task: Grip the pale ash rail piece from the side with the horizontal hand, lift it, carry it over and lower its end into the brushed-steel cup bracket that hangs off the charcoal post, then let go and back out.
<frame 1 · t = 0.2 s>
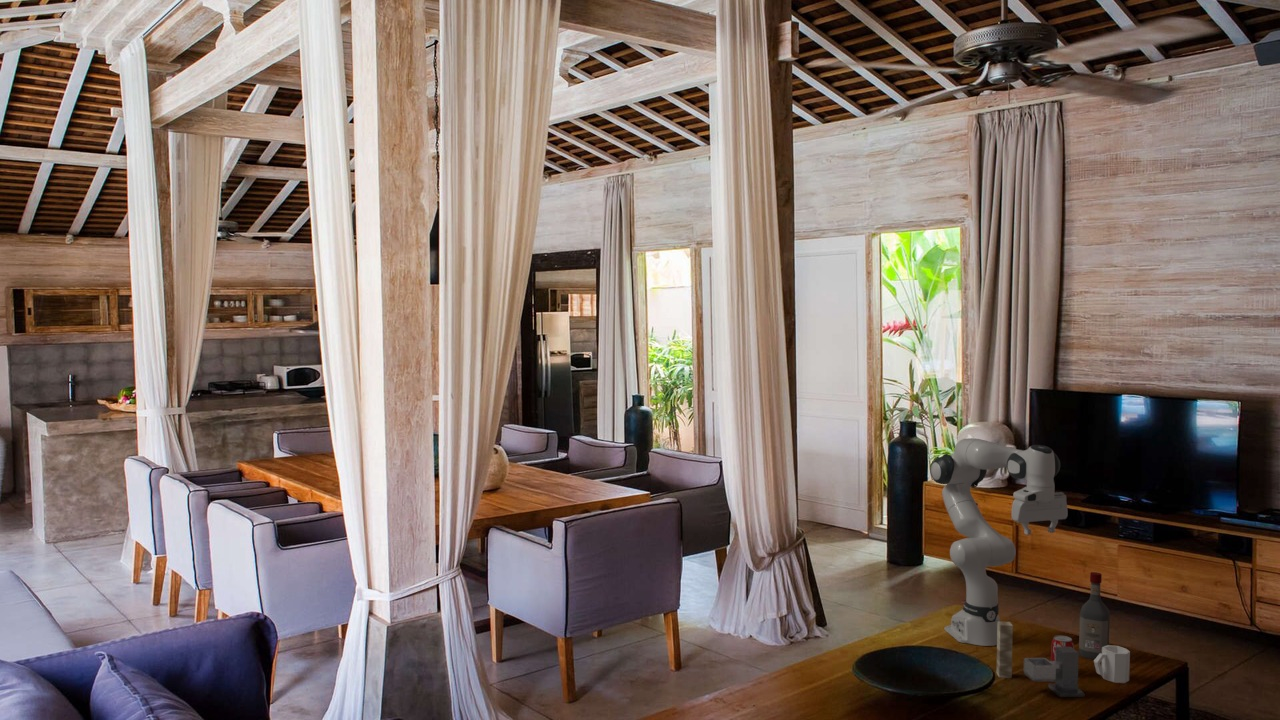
hand: (1039, 533, 323), 48 cm above the table, tool pointing down, fingers open, 8 cm apart
mug: (1110, 679, 319), on the table
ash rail: (1003, 675, 321), on the table
soda can: (1061, 673, 324), on the table
cup bracket: (1038, 692, 307), on the table
liquor: (1093, 656, 340), on the table
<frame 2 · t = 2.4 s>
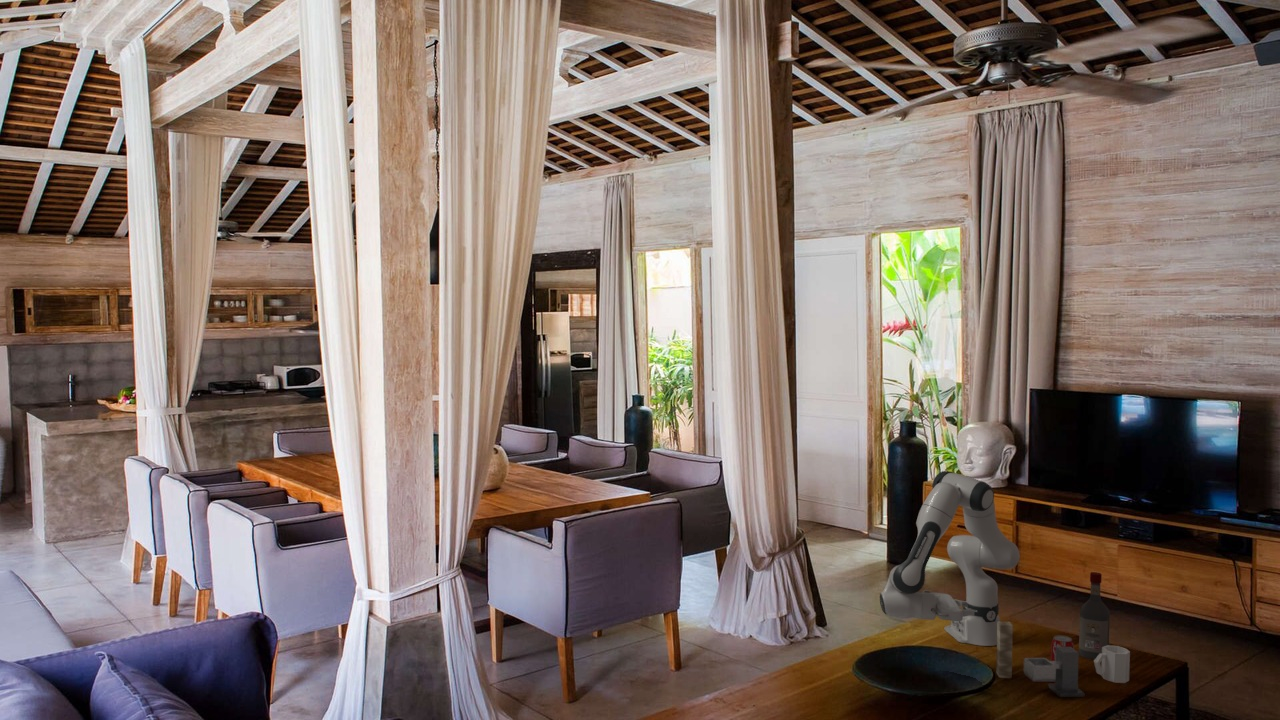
hand: (970, 608, 321), 23 cm above the table, tool horizontal, fingers open, 8 cm apart
nothing on the table moved.
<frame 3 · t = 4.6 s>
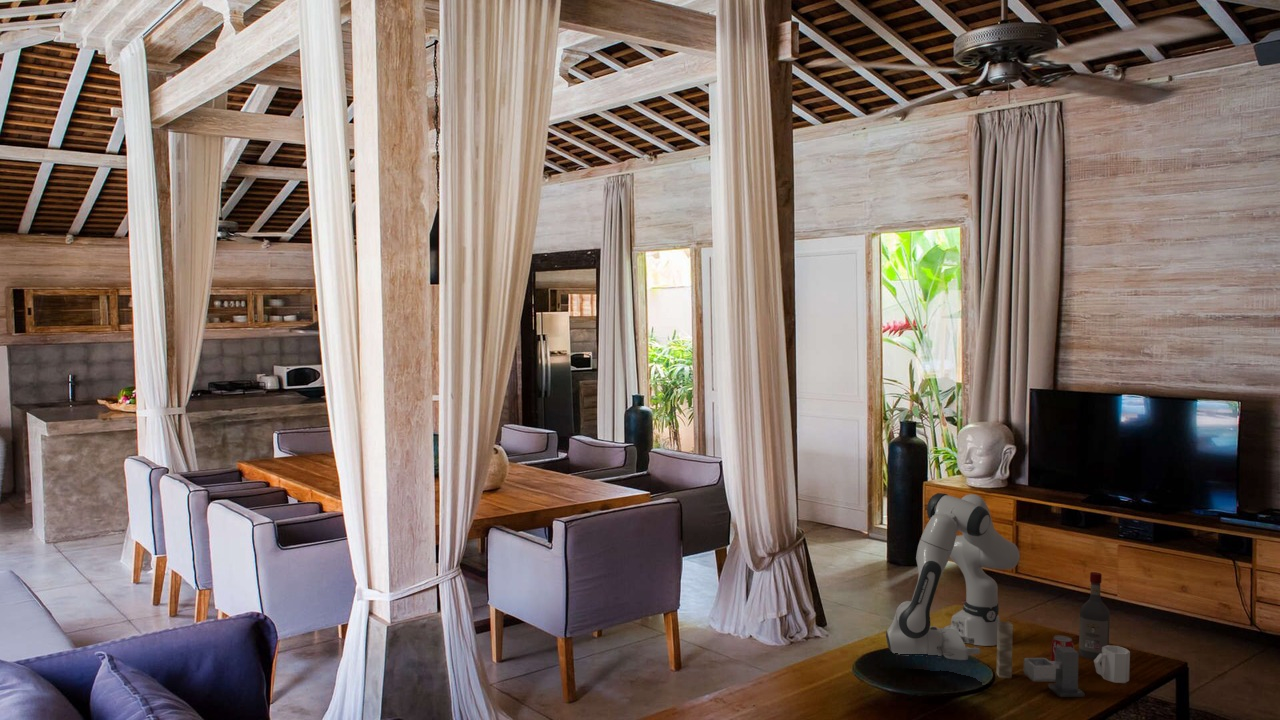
hand: (976, 645, 322), 10 cm above the table, tool horizontal, fingers open, 8 cm apart
nothing on the table moved.
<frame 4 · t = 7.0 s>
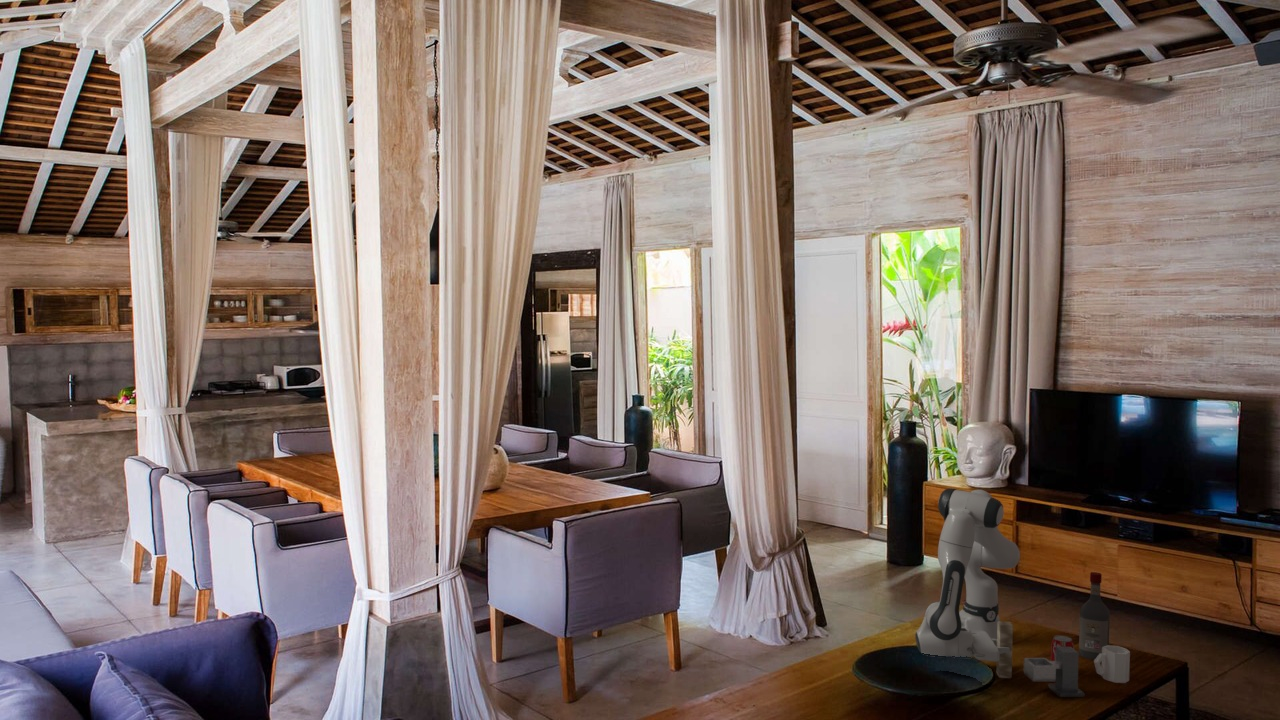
hand: (1007, 646, 320), 10 cm above the table, tool horizontal, fingers closed on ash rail, 4 cm apart
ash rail: (1003, 675, 321), on the table, touching gripper
everything else where it was.
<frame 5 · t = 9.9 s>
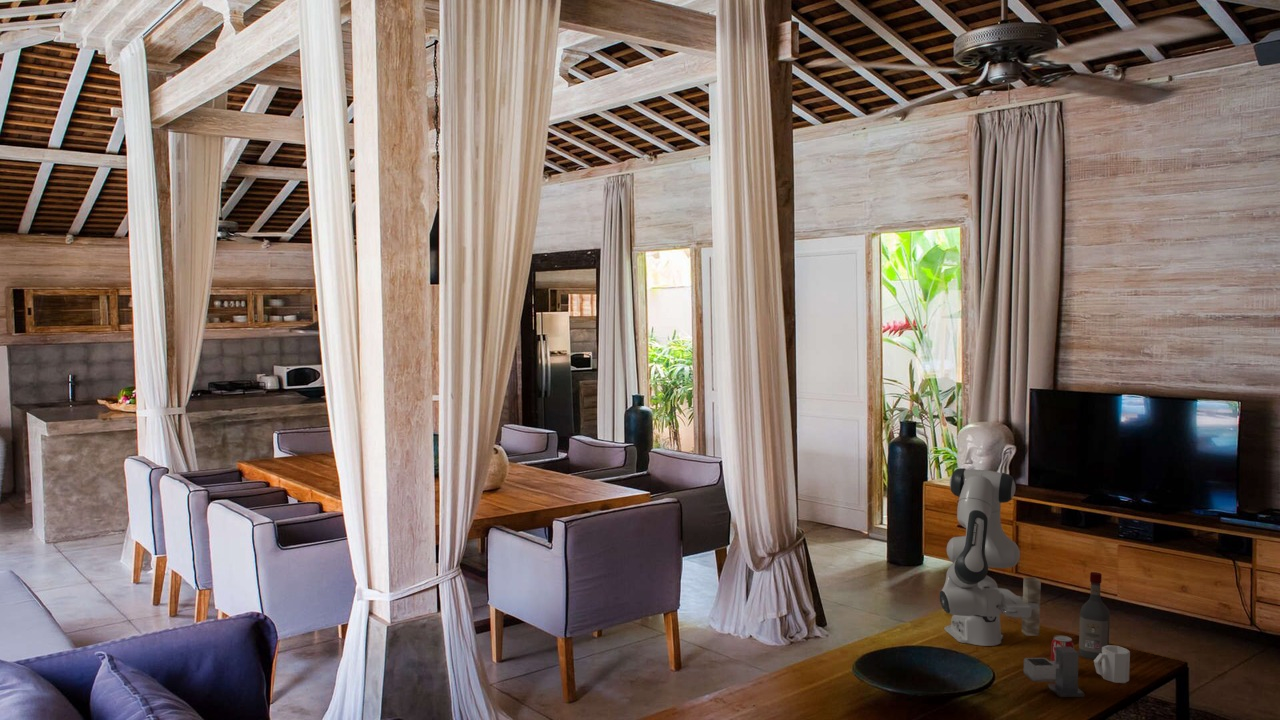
hand: (1034, 603, 308), 29 cm above the table, tool horizontal, fingers closed on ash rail, 4 cm apart
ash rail: (1030, 633, 308), point 19 cm above the table, touching gripper
everything else where it was.
when the fingers open (17 cm above the table, at t = 13.1 s): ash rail drops 1 cm, resting on cup bracket.
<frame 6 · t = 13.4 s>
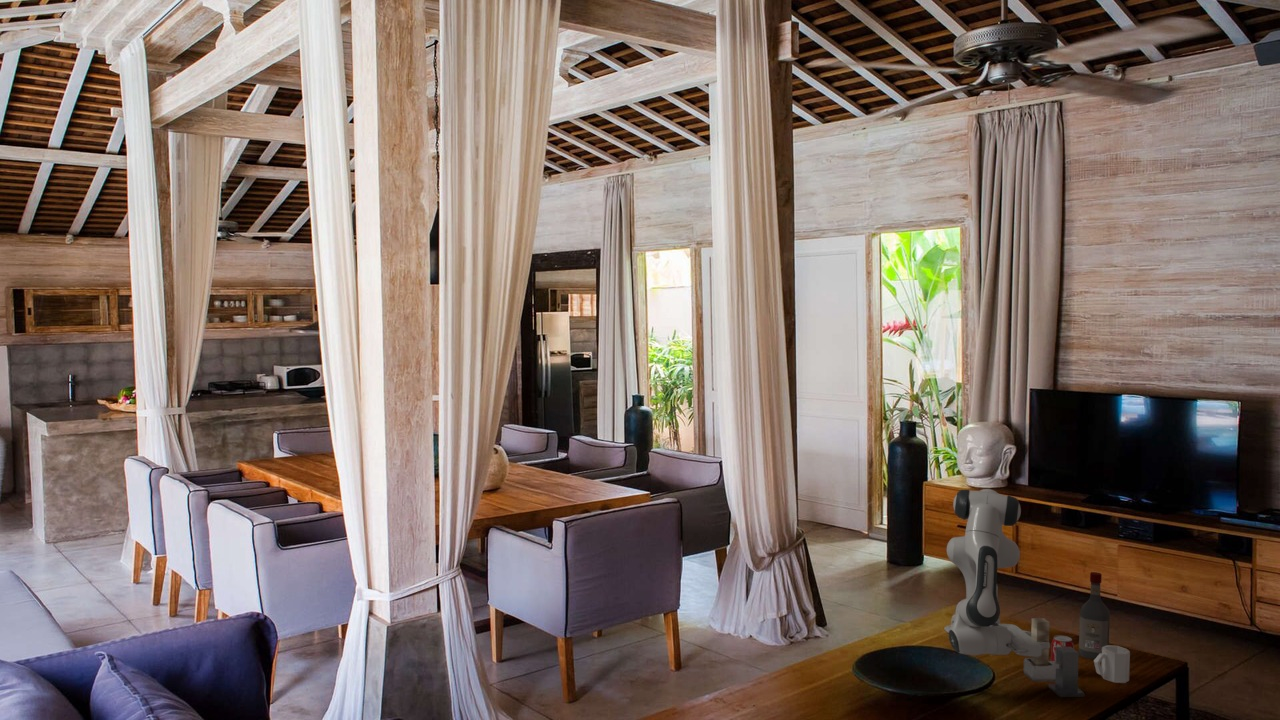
hand: (1042, 639, 306), 17 cm above the table, tool horizontal, fingers open, 7 cm apart
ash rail: (1039, 674, 307), point 6 cm above the table, touching cup bracket
everything else where it was.
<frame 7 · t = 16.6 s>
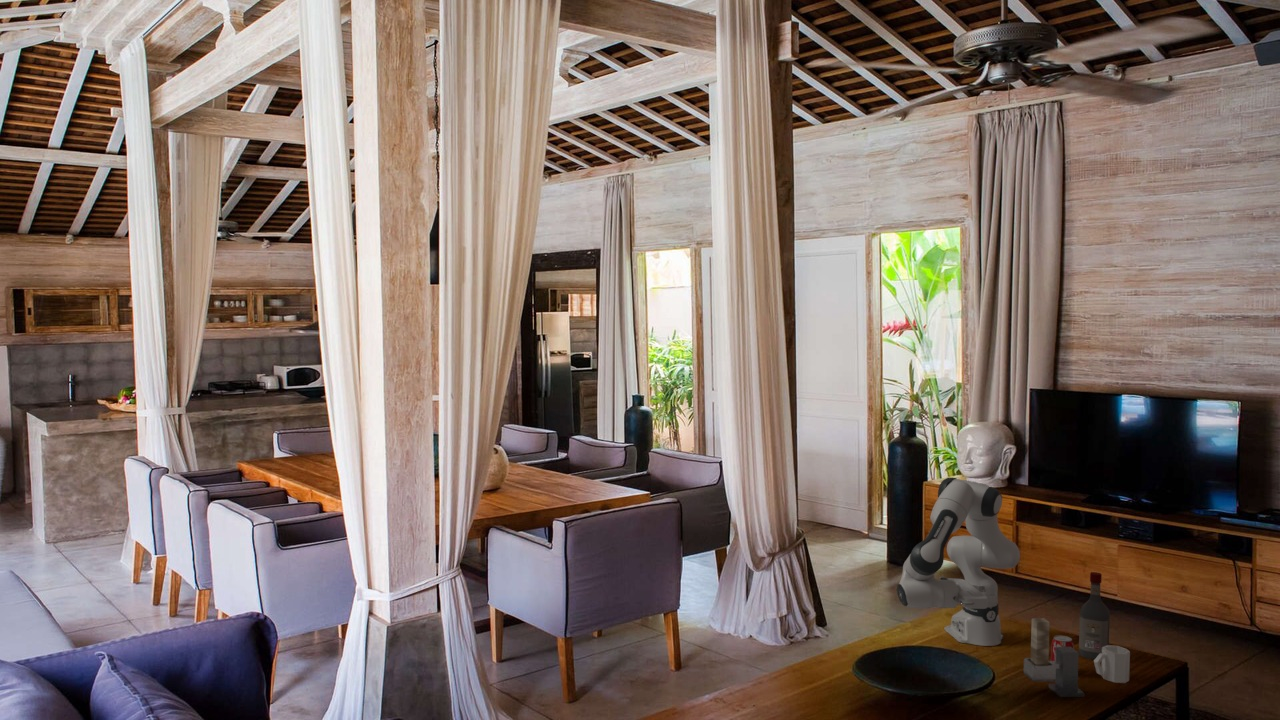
hand: (990, 593, 307), 32 cm above the table, tool horizontal, fingers open, 8 cm apart
nothing on the table moved.
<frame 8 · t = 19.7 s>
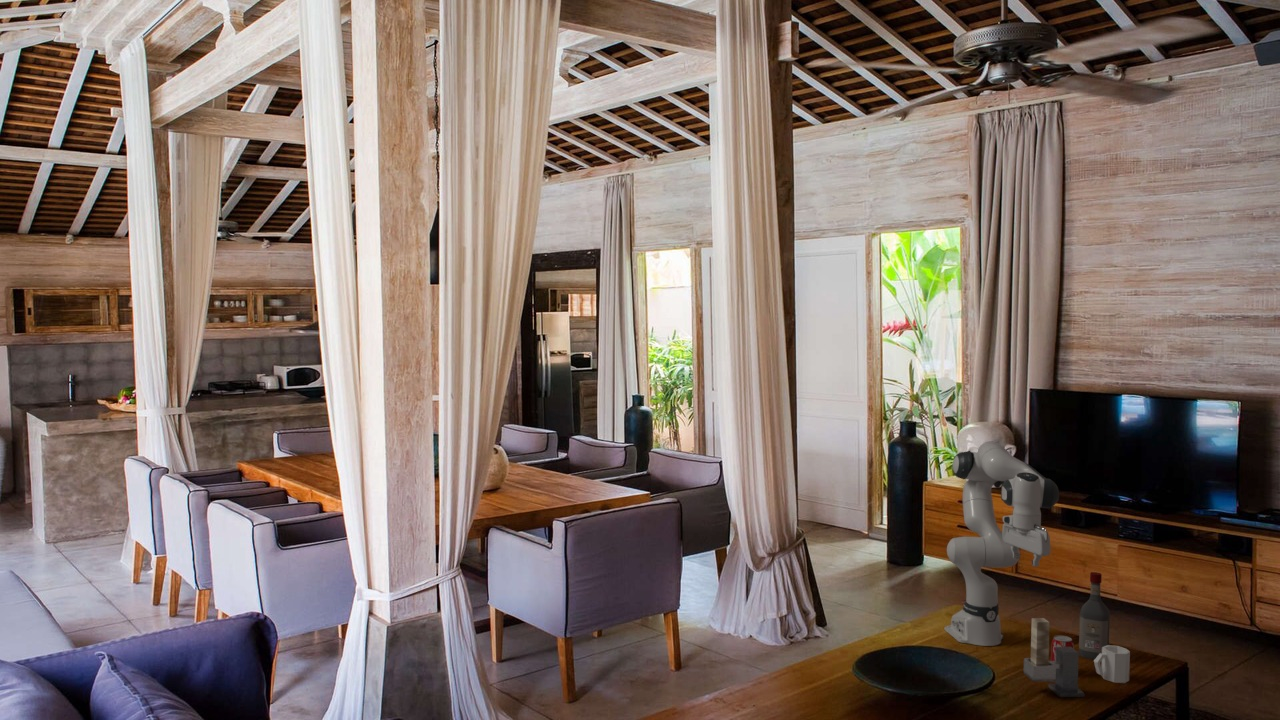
hand: (1025, 562, 319), 39 cm above the table, tool pointing down, fingers open, 8 cm apart
nothing on the table moved.
at the end: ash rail 0.1 cm off-centre on the cup bracket, point 5.8 cm above the cup bracket's base; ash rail tilted 0°; the gripper is holding nothing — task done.
